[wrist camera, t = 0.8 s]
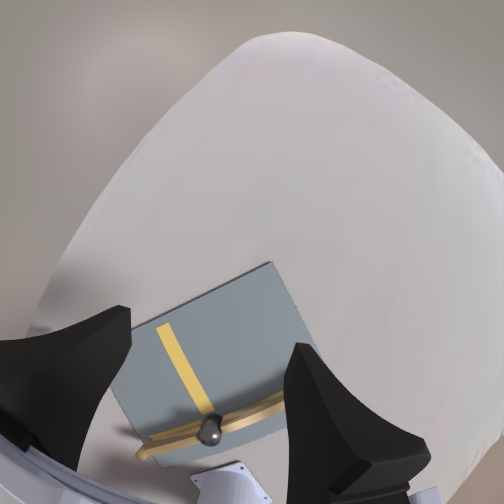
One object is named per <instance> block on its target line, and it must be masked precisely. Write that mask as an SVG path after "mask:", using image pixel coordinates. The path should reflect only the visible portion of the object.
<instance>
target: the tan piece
mask: <svg viewBox="0 0 504 504" xmlns="http://www.w3.org/2000/svg"><path fill="white" fill-rule="evenodd" d="M283 410H285V405H284V396H283V390H281V391H279V392H277V393H275V394H273V395H271V396H269V397H266V398H264V399H262V400H260V401H258V402H255V403H253V404H251V405H248V406H246V407H244V408H241V409H239V410H236V411H234V412H231V413H229V414H226V415H224V416H223V419H222V423H221V426H220V428H221V430H222V431H223V433H224V434H227V433H230V432H233V431H235V430H238V429H241V428H243V427H246V426H248V425H251V424H253V423H256V422H258V421H260V420H263V419H265V418H267V417H270V416H272V415H274V414H276V413H278V412H281V411H283Z"/></svg>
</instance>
